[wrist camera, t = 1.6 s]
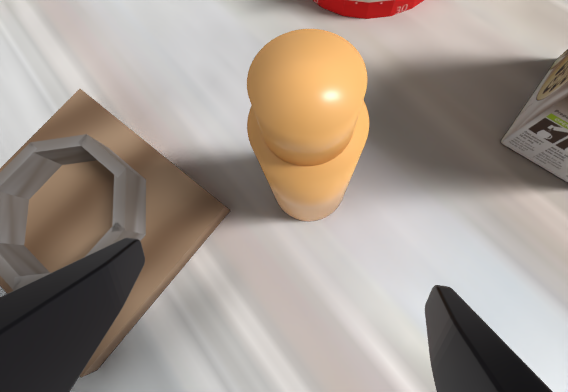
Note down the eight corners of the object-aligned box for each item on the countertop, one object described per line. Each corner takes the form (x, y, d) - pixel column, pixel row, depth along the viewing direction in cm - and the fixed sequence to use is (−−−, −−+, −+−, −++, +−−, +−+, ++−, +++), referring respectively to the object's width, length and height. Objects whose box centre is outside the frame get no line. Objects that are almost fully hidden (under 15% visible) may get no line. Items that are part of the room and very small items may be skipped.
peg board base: (230, 210, 23) (213, 197, 19) (96, 370, 21) (48, 392, 17) (92, 98, 26) (55, 68, 22) (-33, 226, 24) (-98, 217, 20)
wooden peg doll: (358, 180, 23) (418, 62, 10) (315, 235, 22) (321, 184, 9) (302, 141, 24) (293, -9, 11) (259, 192, 23) (198, 95, 10)
